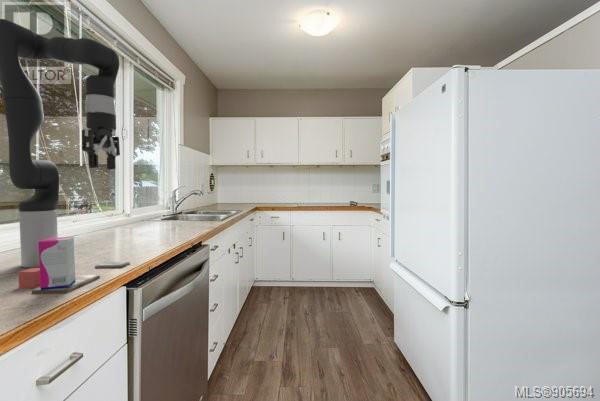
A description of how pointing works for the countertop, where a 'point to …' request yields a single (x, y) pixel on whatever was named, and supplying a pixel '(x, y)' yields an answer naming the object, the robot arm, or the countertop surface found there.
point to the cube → (29, 278)
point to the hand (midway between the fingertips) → (102, 168)
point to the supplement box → (56, 263)
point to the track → (83, 278)
